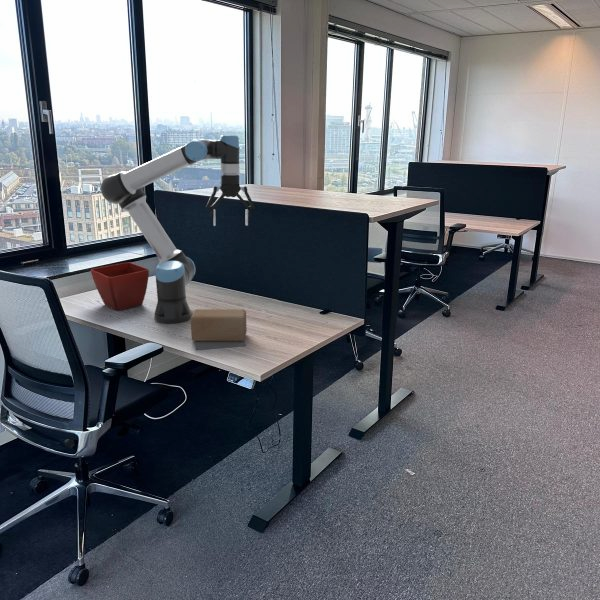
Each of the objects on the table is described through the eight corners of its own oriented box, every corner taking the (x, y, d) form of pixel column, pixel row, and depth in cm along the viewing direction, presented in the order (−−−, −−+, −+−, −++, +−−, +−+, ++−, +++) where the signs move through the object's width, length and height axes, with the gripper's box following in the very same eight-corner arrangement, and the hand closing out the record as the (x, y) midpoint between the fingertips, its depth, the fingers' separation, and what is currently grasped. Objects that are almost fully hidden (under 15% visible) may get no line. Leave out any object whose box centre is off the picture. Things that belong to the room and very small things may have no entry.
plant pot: (113, 314, 229) (109, 277, 224) (93, 304, 242) (89, 268, 237) (152, 305, 242) (149, 269, 237) (132, 296, 255) (129, 262, 250)
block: (244, 317, 196) (189, 317, 196) (244, 342, 199) (191, 342, 199) (246, 308, 206) (194, 308, 206) (246, 332, 209) (195, 332, 209)
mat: (196, 350, 193) (196, 349, 193) (193, 338, 204) (193, 337, 204) (245, 345, 197) (245, 344, 197) (240, 334, 208) (240, 333, 208)
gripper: (258, 173, 226) (258, 223, 232) (199, 173, 220) (200, 223, 227) (261, 175, 219) (261, 226, 225) (199, 174, 213) (201, 227, 220)
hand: (230, 225), depth 226 cm, fingers open, 13 cm apart
